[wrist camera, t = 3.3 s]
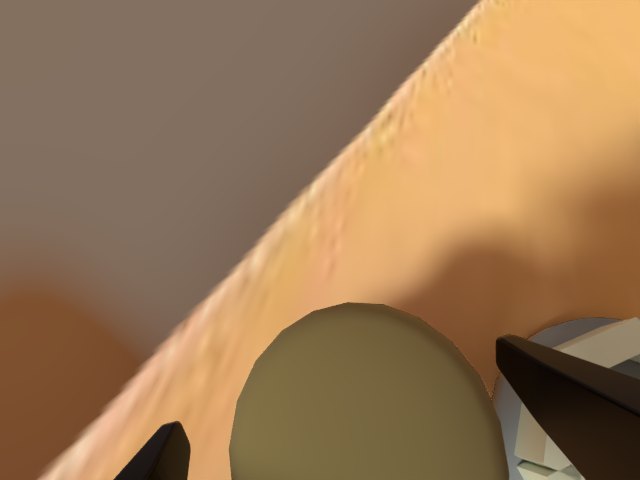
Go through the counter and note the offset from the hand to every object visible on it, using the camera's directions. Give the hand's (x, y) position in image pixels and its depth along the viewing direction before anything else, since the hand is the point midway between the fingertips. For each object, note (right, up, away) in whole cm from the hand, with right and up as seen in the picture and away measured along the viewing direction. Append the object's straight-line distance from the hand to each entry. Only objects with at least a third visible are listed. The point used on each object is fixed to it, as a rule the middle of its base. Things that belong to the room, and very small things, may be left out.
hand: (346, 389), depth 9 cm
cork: (0, -4, +6) cm, 7 cm away
